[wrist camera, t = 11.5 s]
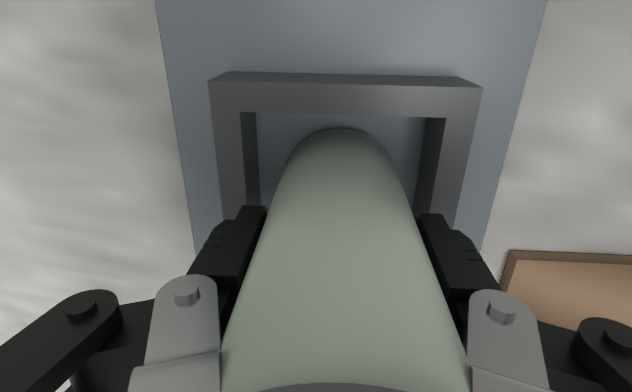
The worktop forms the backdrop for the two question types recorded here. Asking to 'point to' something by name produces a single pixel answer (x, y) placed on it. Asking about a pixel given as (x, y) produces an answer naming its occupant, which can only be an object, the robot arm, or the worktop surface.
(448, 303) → the robot arm
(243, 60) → the base
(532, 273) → the coaster
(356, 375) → the cylinder
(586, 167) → the worktop surface
